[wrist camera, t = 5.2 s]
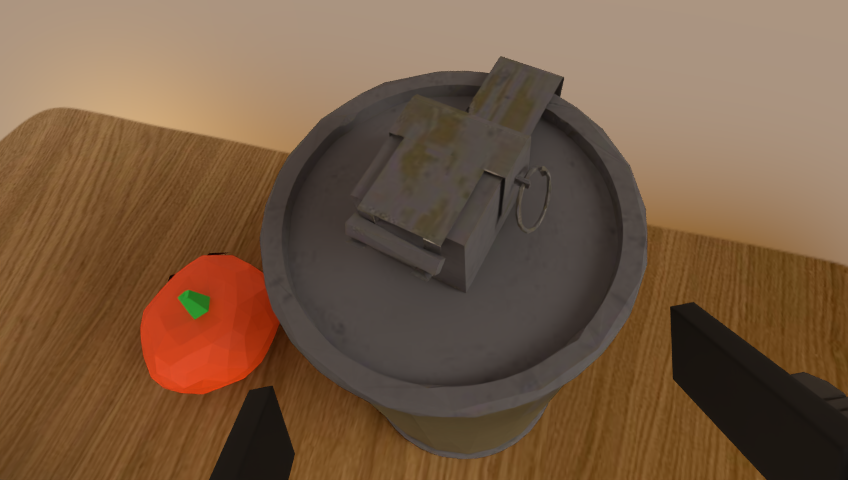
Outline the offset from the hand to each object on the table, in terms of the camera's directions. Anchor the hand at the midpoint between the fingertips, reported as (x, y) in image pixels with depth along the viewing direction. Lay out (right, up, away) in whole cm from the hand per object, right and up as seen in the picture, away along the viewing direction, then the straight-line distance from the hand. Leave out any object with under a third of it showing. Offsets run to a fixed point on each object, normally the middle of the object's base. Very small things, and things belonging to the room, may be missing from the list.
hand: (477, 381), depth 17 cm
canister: (+1, -2, +13) cm, 13 cm away
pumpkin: (-13, -1, +15) cm, 20 cm away
